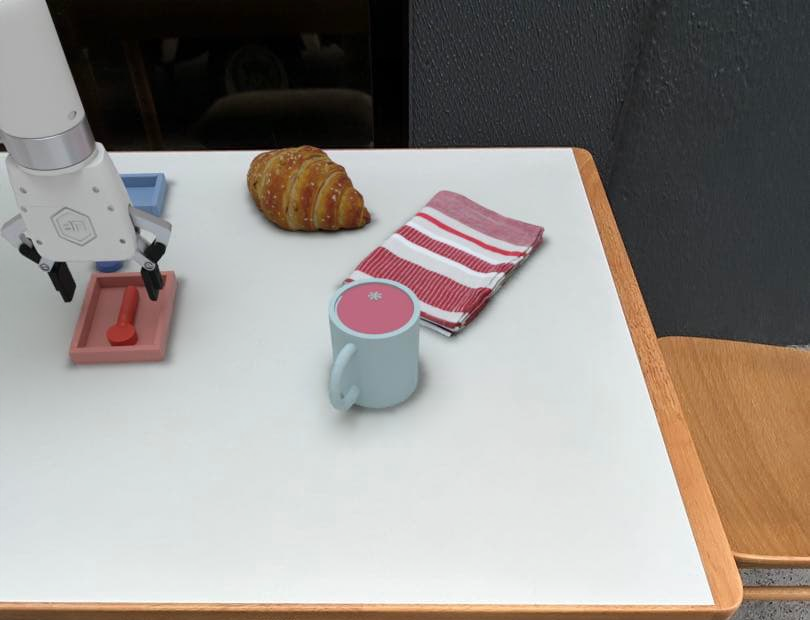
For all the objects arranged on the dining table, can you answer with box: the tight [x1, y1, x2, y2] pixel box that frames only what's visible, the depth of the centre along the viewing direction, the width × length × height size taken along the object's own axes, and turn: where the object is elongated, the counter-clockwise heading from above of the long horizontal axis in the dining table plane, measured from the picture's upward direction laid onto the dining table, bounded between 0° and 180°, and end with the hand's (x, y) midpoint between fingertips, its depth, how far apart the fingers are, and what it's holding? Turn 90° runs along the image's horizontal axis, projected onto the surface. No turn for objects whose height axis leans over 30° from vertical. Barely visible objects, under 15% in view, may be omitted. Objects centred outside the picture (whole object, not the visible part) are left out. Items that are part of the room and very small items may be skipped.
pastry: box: [246, 144, 371, 232], centre depth 89 cm, size 21×13×8 cm, turn 53°
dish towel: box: [341, 189, 545, 338], centre depth 85 cm, size 17×23×3 cm
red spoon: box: [106, 286, 139, 346], centre depth 78 cm, size 10×3×2 cm, turn 4°
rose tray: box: [68, 270, 179, 365], centre depth 79 cm, size 14×10×2 cm
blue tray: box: [119, 172, 168, 218], centre depth 92 cm, size 14×8×2 cm, turn 94°
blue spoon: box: [94, 261, 124, 273], centre depth 86 cm, size 10×3×2 cm, turn 4°
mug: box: [327, 278, 421, 412], centre depth 70 cm, size 14×9×10 cm
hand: (113, 293), depth 76 cm, fingers open, 9 cm apart
